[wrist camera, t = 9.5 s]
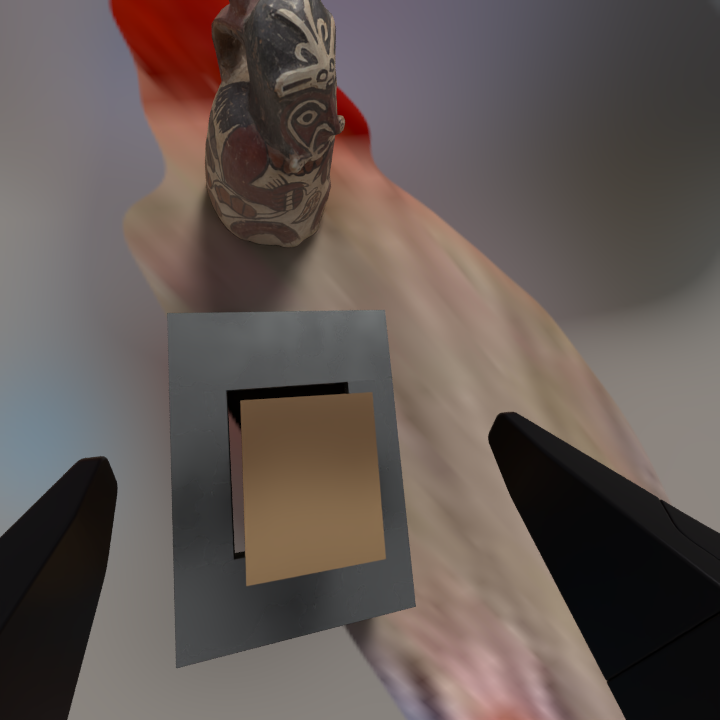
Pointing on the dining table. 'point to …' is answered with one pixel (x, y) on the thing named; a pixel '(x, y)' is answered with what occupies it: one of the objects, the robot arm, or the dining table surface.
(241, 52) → the figurine
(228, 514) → the grey hollow block
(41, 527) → the robot arm
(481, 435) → the dining table surface
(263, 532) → the tan squared block
